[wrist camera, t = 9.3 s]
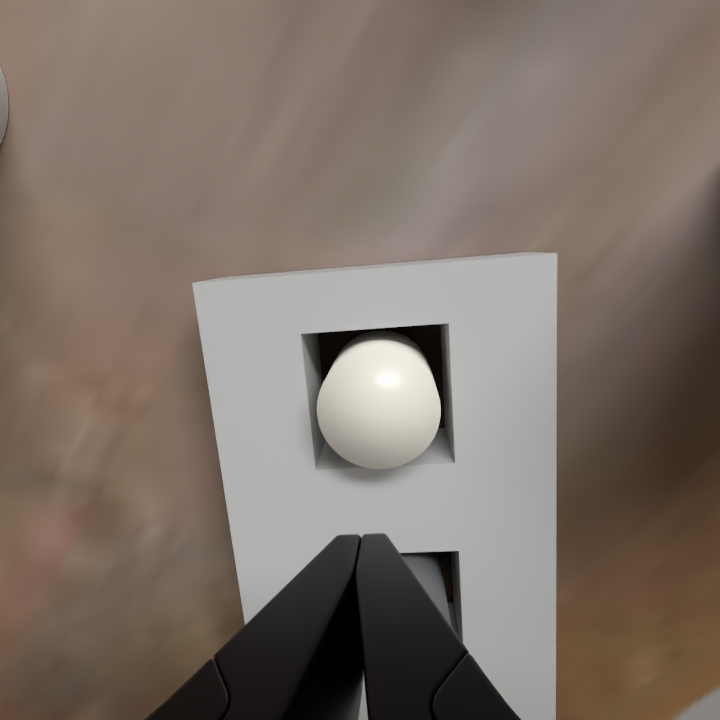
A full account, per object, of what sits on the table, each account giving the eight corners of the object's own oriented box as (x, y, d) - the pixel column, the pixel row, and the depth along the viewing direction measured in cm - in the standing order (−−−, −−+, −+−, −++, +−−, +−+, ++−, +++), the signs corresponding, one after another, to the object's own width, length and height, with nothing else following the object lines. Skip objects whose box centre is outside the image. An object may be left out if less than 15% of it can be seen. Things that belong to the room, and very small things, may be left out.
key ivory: (428, 326, 19) (437, 346, 15) (434, 424, 20) (443, 466, 16) (327, 333, 20) (310, 354, 16) (336, 429, 20) (322, 471, 17)
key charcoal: (439, 523, 21) (449, 586, 17) (443, 605, 22) (454, 682, 18) (346, 527, 21) (335, 589, 18) (353, 607, 22) (345, 683, 18)
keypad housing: (527, 252, 19) (557, 253, 16) (533, 783, 25) (555, 868, 21) (226, 277, 20) (192, 283, 17) (296, 782, 26) (282, 863, 22)
